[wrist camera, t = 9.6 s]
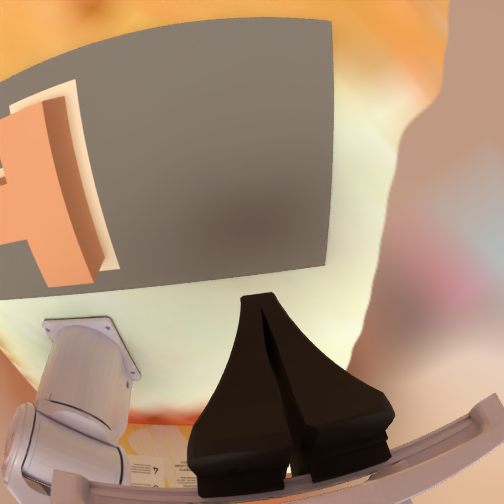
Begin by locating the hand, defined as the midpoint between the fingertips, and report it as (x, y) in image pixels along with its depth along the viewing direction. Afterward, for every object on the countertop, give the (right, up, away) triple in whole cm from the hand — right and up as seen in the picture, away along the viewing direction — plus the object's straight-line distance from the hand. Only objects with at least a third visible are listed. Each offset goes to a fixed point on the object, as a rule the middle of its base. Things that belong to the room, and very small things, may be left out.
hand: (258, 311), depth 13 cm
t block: (-17, +6, +4) cm, 19 cm away
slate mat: (-10, +7, +5) cm, 14 cm away
